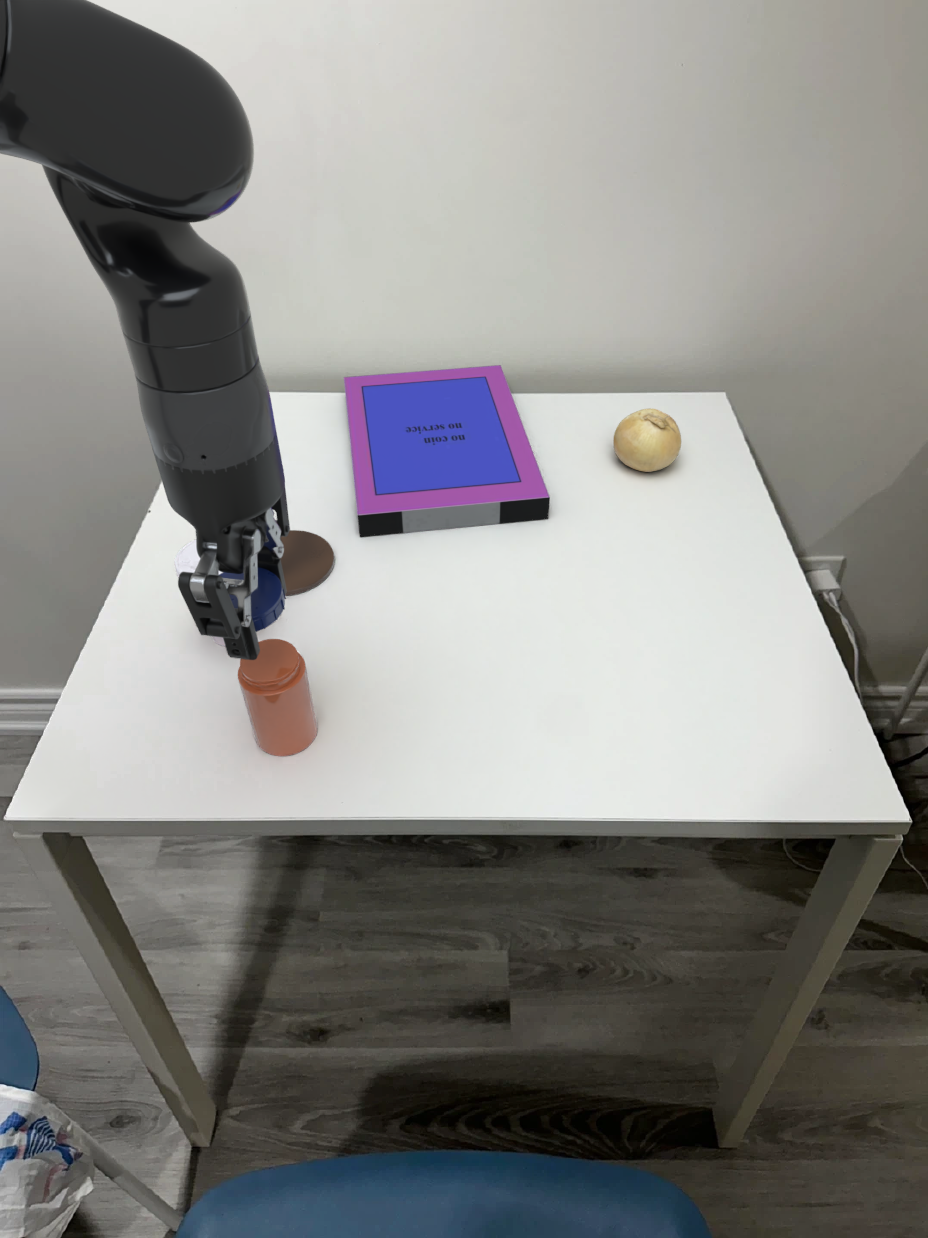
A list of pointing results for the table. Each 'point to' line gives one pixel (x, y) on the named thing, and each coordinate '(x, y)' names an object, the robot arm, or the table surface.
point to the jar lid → (263, 598)
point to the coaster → (305, 561)
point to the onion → (647, 440)
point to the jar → (278, 698)
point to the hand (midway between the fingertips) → (259, 624)
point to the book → (440, 452)
